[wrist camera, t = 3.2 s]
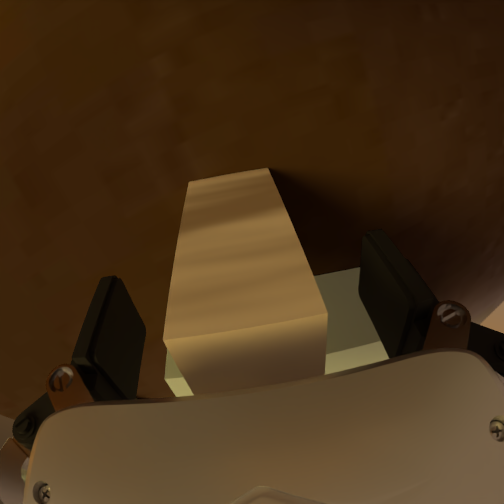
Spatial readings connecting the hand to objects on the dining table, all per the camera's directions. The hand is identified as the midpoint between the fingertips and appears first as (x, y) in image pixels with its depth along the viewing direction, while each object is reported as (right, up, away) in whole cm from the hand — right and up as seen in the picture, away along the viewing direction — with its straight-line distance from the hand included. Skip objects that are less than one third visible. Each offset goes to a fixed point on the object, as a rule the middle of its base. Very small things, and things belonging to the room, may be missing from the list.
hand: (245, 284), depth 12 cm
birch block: (-1, +3, +5) cm, 6 cm away
